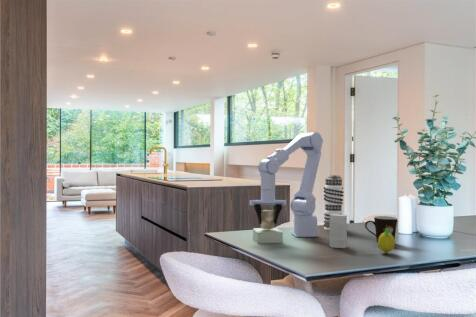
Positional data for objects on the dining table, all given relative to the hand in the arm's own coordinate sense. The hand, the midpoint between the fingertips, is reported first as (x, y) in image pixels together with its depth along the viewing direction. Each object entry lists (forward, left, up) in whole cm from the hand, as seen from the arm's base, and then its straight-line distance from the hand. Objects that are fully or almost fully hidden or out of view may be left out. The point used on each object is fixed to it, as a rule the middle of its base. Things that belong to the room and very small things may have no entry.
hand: (267, 223), depth 167 cm
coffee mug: (-44, +8, -7) cm, 45 cm away
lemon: (-37, +26, -7) cm, 46 cm away
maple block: (0, 0, -2) cm, 2 cm away
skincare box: (-24, +14, -7) cm, 29 cm away
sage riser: (0, 0, -7) cm, 7 cm away
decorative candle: (-36, -24, -7) cm, 44 cm away
